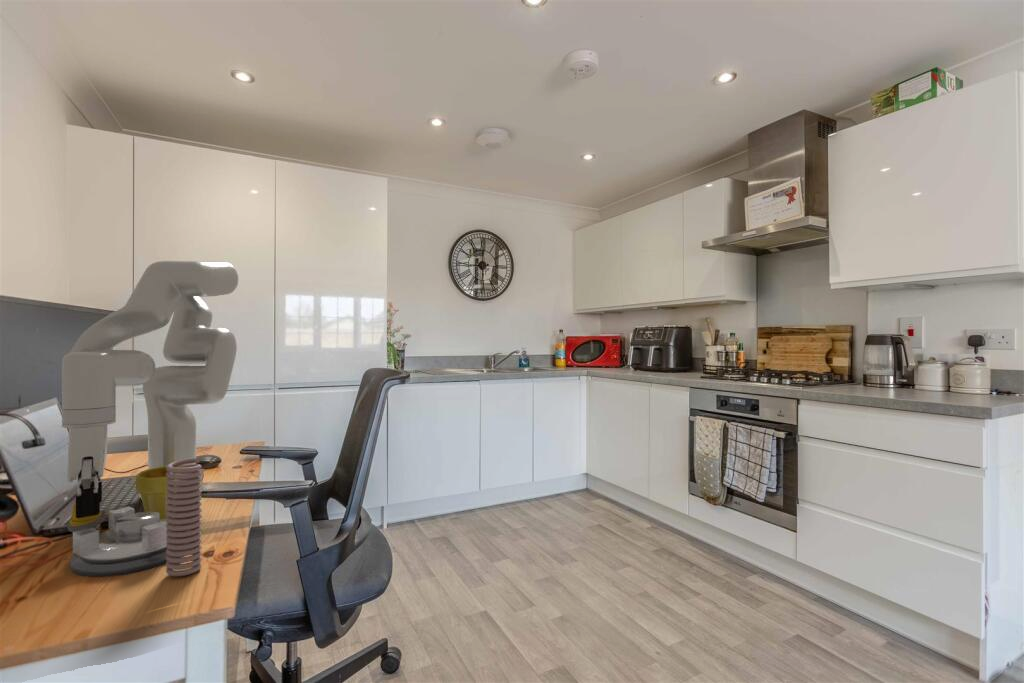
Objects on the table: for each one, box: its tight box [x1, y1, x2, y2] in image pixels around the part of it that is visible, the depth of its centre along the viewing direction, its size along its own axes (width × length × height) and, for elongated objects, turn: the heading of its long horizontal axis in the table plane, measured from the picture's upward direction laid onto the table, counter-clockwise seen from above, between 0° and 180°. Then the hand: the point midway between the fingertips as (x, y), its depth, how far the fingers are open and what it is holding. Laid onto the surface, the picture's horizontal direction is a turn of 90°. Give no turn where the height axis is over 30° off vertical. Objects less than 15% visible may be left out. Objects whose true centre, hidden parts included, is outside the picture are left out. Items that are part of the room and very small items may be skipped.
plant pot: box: [135, 465, 184, 520], centre depth 98 cm, size 10×10×10 cm
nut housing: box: [69, 543, 191, 578], centre depth 81 cm, size 17×17×2 cm
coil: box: [165, 457, 203, 577], centre depth 74 cm, size 5×5×18 cm
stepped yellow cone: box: [66, 493, 107, 533], centre depth 87 cm, size 5×5×10 cm
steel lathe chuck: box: [72, 506, 191, 563], centre depth 81 cm, size 15×15×4 cm
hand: (89, 509), depth 87 cm, fingers open, 7 cm apart
